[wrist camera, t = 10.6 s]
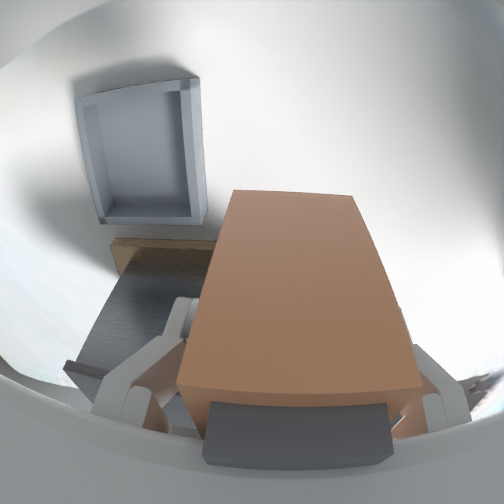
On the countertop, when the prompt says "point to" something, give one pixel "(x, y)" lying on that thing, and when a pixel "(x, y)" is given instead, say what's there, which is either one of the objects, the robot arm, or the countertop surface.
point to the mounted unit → (141, 309)
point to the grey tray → (145, 153)
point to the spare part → (296, 339)
